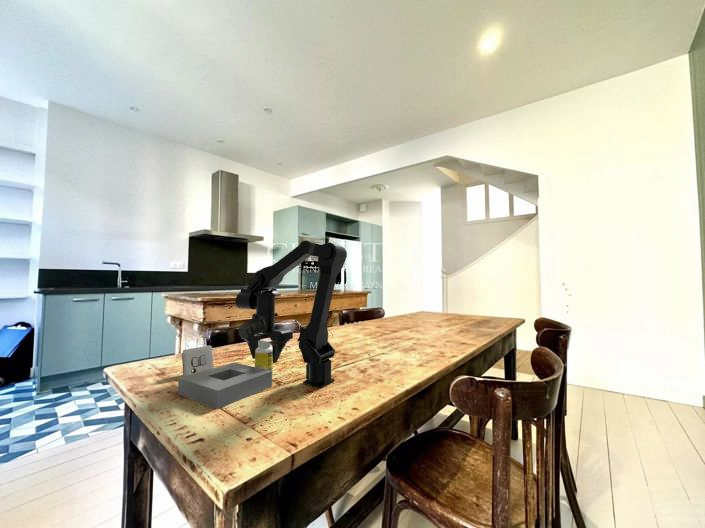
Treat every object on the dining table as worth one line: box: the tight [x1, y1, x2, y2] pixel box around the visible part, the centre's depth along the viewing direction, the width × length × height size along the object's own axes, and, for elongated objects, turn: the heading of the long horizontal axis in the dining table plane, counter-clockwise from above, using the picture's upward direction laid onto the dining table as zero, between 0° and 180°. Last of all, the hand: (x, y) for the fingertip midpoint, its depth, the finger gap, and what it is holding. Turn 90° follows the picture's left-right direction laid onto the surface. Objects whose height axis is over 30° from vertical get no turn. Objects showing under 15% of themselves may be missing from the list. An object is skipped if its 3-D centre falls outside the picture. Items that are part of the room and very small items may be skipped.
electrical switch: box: [181, 345, 215, 377], centre depth 86 cm, size 8×5×8 cm, turn 141°
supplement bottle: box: [254, 338, 274, 372], centre depth 87 cm, size 5×5×10 cm
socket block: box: [177, 362, 273, 410], centre depth 73 cm, size 16×16×4 cm
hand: (264, 360), depth 87 cm, fingers open, 9 cm apart
